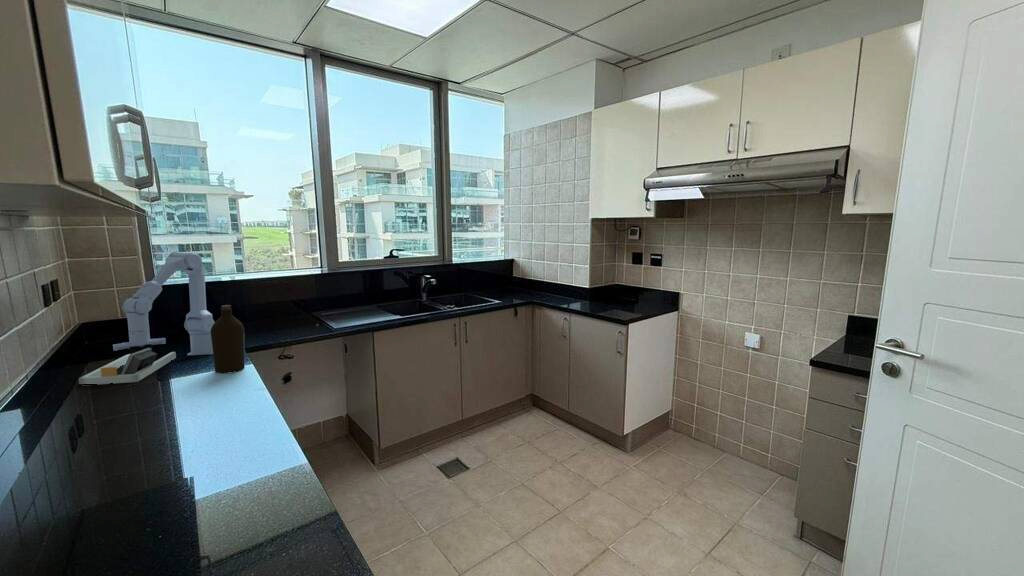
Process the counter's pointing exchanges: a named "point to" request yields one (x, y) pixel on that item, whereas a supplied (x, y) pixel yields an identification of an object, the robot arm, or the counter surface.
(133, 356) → the electrical switch
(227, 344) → the olive oil
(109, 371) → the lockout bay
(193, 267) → the robot arm
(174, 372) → the counter surface
